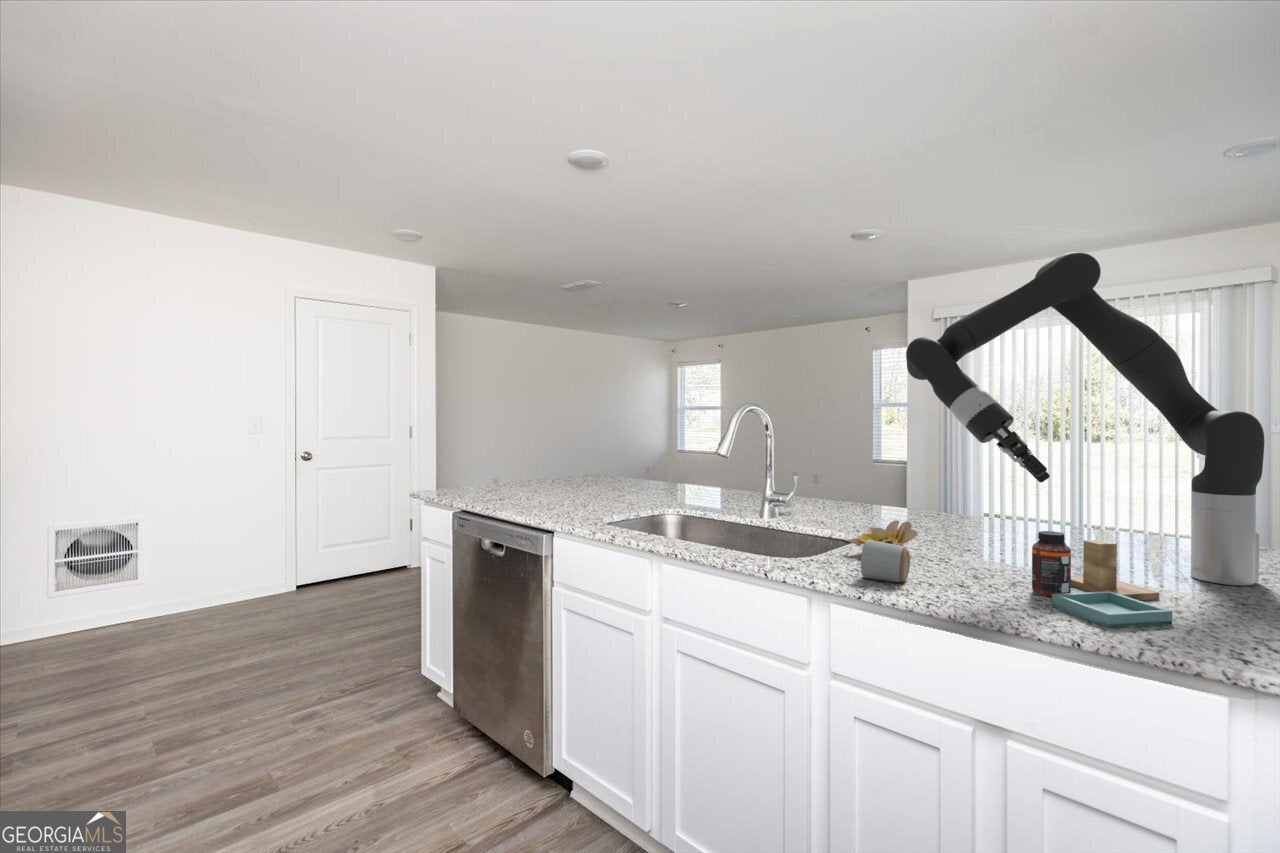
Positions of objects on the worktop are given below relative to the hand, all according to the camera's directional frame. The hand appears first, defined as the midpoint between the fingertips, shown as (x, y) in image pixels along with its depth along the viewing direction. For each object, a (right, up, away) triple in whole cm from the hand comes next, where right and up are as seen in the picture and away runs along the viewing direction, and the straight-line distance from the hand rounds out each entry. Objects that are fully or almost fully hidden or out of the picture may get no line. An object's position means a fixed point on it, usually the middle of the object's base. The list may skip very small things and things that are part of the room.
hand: (1044, 476), depth 116 cm
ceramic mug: (-26, -22, +9) cm, 35 cm away
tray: (+1, -22, -14) cm, 26 cm away
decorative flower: (-19, -21, +28) cm, 40 cm away
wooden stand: (+12, -21, -1) cm, 24 cm away
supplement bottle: (0, -22, -2) cm, 22 cm away
